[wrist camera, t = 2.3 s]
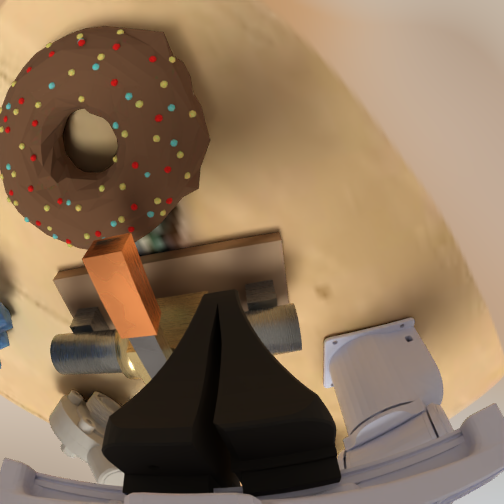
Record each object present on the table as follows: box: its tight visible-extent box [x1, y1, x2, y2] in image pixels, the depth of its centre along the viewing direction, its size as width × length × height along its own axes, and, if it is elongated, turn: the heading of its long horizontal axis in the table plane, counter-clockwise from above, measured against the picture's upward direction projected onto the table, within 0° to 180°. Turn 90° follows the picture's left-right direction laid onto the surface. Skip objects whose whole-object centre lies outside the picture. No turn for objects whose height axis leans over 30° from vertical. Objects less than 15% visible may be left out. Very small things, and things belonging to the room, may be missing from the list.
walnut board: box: [53, 232, 289, 330], centre depth 25 cm, size 18×9×1 cm, turn 98°
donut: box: [0, 26, 210, 249], centre depth 16 cm, size 14×14×5 cm
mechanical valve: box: [49, 390, 124, 486], centre depth 29 cm, size 10×18×15 cm
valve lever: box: [82, 233, 173, 379], centre depth 16 cm, size 11×2×2 cm, turn 8°
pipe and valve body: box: [50, 280, 302, 385], centre depth 22 cm, size 18×5×6 cm, turn 98°
